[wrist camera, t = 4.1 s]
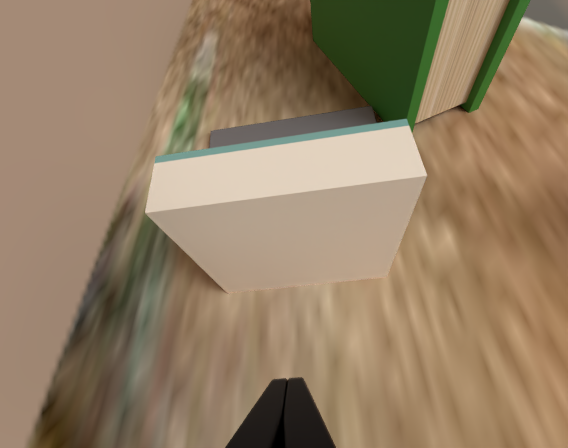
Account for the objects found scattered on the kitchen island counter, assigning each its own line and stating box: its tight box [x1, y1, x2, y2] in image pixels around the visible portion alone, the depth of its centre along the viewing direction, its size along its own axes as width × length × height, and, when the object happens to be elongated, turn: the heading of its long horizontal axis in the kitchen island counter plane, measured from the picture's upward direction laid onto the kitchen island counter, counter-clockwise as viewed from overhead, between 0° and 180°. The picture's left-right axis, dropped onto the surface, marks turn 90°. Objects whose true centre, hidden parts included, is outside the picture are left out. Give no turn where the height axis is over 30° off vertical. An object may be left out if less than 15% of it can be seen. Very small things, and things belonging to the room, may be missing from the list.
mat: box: [210, 106, 377, 148], centre depth 26 cm, size 12×15×1 cm
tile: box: [145, 119, 427, 293], centre depth 18 cm, size 3×11×11 cm, turn 93°
